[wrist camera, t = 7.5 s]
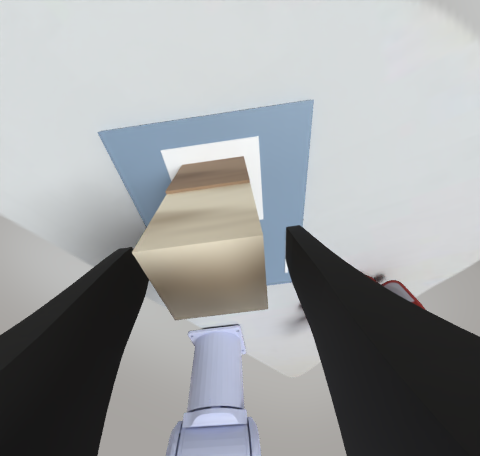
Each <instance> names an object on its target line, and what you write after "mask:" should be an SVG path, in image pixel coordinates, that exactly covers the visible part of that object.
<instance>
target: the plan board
mask: <svg viewBox="0 0 480 456" xmlns="http://www.w3.org/2000/svg"><path fill="white" fill-rule="evenodd" d="M313 103H314V100H306V101H299V102H293V103H286V104H279V105H273V106H266V107H259V108H253V109H246V110H239V111H233V112H226V113H219V114H213V115H206V116H199V117H192V118H186V119H179V120H172V121H166V122H159V123H152V124H146V125H139V126H132V127H126V128H119V129H112V130H106V131H100V132H98V134H99V136H100V138H101V140H102V142H103V144H104V146H105V148H106V150H107V152H108V154H109V156H110V158H111V160H112V161H113V163H114V165H115V167H116V169H117V171H118V173H119V175H120V177H121V179H122V181H123V183H124V185H125V187H126V189H127V191H128V193H129V194H130V196H131V198H132V200H133V202H134V204H135V206H136V208H137V210H138V212H139V214H140V216H141V218H142V220H143V222H144V224H145V226H146V227H147V226H148V225H149V223H150V221H151V220H152V218H153V216H154V215H155V213H156V211H157V210H158V208H159V206H160V205H161V203H162V201H163V200H164V198H165V196H166V192H165V191H166V189H167V188H168V186H169V185H170V183H171V182H172V180H173V178H174V177H175V175H176V174H177V172H178V170H179V169H180V167H181V166H182V165H185V164H192V163H199V162H206V161H213V160H220V159H227V158H234V157H241V156H244V159H245V163H246V167H247V171H248V175H249V179H250V184H251V188H252V192H253V196H254V200H255V204H256V208H257V212H258V216H259V220H260V224H261V228H262V232H263V240H264V255H265V270H266V285H275V284H283V283H291V282H292V280H291V278H290V274H289V271H288V267H287V263H286V259H285V255H286V227H289V226H296V225H300V226H301V227H302V226H303V214H304V203H305V192H306V181H307V170H308V159H309V147H310V136H311V125H312V114H313Z"/></svg>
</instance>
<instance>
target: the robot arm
mask: <svg viewBox="0 0 480 456" xmlns="http://www.w3.org/2000/svg"><path fill="white" fill-rule="evenodd" d="M132 251H133V248H132V247H129V248H121V249H118V250H117V251H115V252H114V253H112V254H111V255H109V256H108V257H107V258H105V259H104V260H103V261H101V262H100V263H99V264H98V265H96V266H95V267H94V268H92V269H91V270H90V271H89V272H87V273H86V274H85V275H83V276H82V277H81V278H80V279H78V280H77V281H76V282H75V283H73V284H72V285H71V286H69V287H68V288H67V289H66V290H64V291H63V292H61V293H60V294H59V295H57V296H56V297H55V298H53V299H52V300H51V301H49V302H48V303H47V304H45V305H44V306H42V307H41V308H40V309H38V310H37V311H36V312H34V313H33V314H32V315H30V316H28V317H27V318H25V319H24V320H23V321H21V322H20V323H18V324H17V325H15V326H14V327H12V328H11V329H9V330H8V331H6V332H5V333H3V334H2V335H0V456H97V455H98V450H99V444H100V440H101V436H102V431H103V427H104V422H105V418H106V413H107V409H108V405H109V401H110V397H111V393H112V390H113V385H114V382H115V379H116V375H117V371H118V368H119V365H120V361H121V358H122V355H123V352H124V349H125V346H126V344H127V341H128V339H129V336H130V334H131V331H132V328H133V326H134V323H135V320H136V318H137V316H138V313H139V311H140V308H141V305H142V303H143V300H144V297H145V294H146V290H147V286H148V281H149V279H148V277H147V275H146V274H145V272H144V271H143V269H142V268H141V266H140V264H139V263H138V261H137V260H136V258H135V257H134V255H133V253H132ZM285 259H286V263H287V267H288V271H289V274H290V278H291V280H292V283H293V285H294V288H295V290H296V293H297V295H298V298H299V300H300V303H301V305H302V308H303V310H304V313H305V315H306V318H307V320H308V323H309V325H310V328H311V331H312V334H313V337H314V340H315V343H316V346H317V350H318V353H319V356H320V360H321V363H322V366H323V370H324V373H325V376H326V380H327V383H328V387H329V391H330V394H331V397H332V401H333V405H334V409H335V412H336V416H337V419H338V423H339V427H340V431H341V435H342V439H343V443H344V446H345V450H346V454H347V456H480V337H479V336H477V335H475V334H473V333H470V332H468V331H466V330H464V329H462V328H460V327H458V326H456V325H454V324H452V323H450V322H448V321H446V320H444V319H442V318H440V317H438V316H436V315H434V314H432V313H430V312H428V311H427V310H425V309H423V308H421V307H419V306H417V305H415V304H414V303H412V302H410V301H408V300H406V299H404V298H403V297H401V296H399V295H397V294H396V293H394V292H392V291H390V290H389V289H387V288H385V287H384V286H382V285H381V284H379V283H377V282H376V281H374V280H372V279H371V278H369V277H368V276H366V275H364V274H363V273H361V272H360V271H358V270H357V269H356V268H354V267H353V266H351V265H350V264H348V263H347V262H345V261H344V260H343V259H341V258H340V257H339V256H337V255H336V254H335V253H333V252H332V251H331V250H330V249H328V248H327V247H326V246H324V245H323V244H322V243H321V242H320V241H318V240H317V239H316V238H315V237H313V236H312V235H311V234H310V233H309V232H307V231H306V230H305V229H304V228H303V227H301V226H300V225H296V226H289V227H286V255H285ZM188 336H189V338H190V339H191V341H192V343H193V344H194V346H195V352H194V360H193V368H192V376H191V384H190V392H189V400H188V408H187V413H184V417H183V421H179V422H178V423H177V425H176V426H175V427H174V429H173V430H172V433H171V435H170V439H169V443H168V448H167V452H166V456H261V449H260V441H259V434H258V429H257V425H256V423H255V422H254V421H253V419H252V417H247V410H246V409H244V394H243V374H242V356H241V354H246V348H245V344H244V340H243V336H242V332H241V327H240V326H238V325H236V326H227V327H219V328H210V329H202V330H193V331H189V332H188Z"/></svg>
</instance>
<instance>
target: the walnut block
mask: <svg viewBox="0 0 480 456" xmlns="http://www.w3.org/2000/svg"><path fill="white" fill-rule="evenodd" d="M244 183H250V179H249V175H248V171H247V167H246V163H245V159H244V156H241V157H234V158H227V159H220V160H213V161H206V162H199V163H192V164H185V165H182V166H181V167H180V169H179V170H178V172H177V174H176V175H175V177H174V178H173V180H172V182H171V183H170V185H169V186H168V188H167V189H166V191H165V192H166V194H173V193H180V192H187V191H195V190H202V189H209V188H216V187H223V186H230V185H237V184H244Z"/></svg>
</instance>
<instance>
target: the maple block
mask: <svg viewBox="0 0 480 456" xmlns="http://www.w3.org/2000/svg"><path fill="white" fill-rule="evenodd" d="M132 253H133V255H134V257H135V258H136V260H137V261H138V263H139V264H140V266H141V268H142V269H143V271H144V272H145V274H146V275H147V277H148V279H149V280H150V282H151V283H152V285H153V286H154V288H155V290H156V291H157V293H158V294H159V296H160V297H161V299H162V301H163V302H164V304H165V305H166V307H167V308H168V310H169V312H170V313H171V315H172V316H173V318H174V319H175V320H181V319H190V318H198V317H206V316H215V315H223V314H231V313H240V312H248V311H256V310H264V309H268V299H267V285H266V270H265V255H264V240H263V232H262V228H261V224H260V220H259V216H258V212H257V208H256V204H255V200H254V196H253V192H252V188H251V184H250V183H244V184H237V185H230V186H223V187H216V188H209V189H202V190H195V191H187V192H180V193H173V194H166V196H165V198H164V200H163V201H162V203H161V205H160V206H159V208H158V210H157V211H156V213H155V215H154V216H153V218H152V220H151V221H150V223H149V225H148V226H147V228H146V230H145V231H144V233H143V235H142V236H141V238H140V240H139V241H138V243H137V245H136V246H135V248H134V250H133V251H132Z"/></svg>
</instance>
